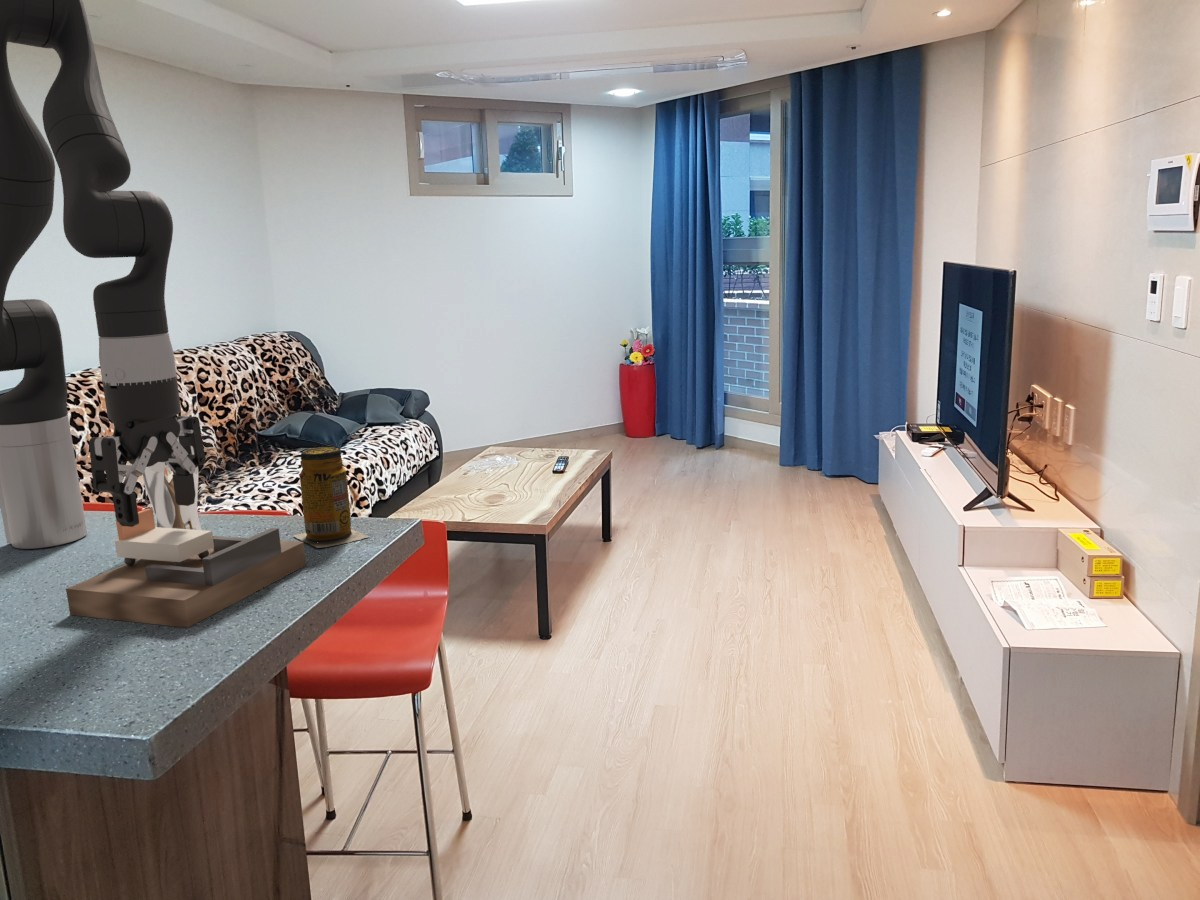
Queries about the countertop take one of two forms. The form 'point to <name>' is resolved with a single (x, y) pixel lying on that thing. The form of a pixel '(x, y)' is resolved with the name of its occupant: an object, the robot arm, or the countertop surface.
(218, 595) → the dock
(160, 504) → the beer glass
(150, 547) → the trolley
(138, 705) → the countertop surface
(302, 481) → the condiment
